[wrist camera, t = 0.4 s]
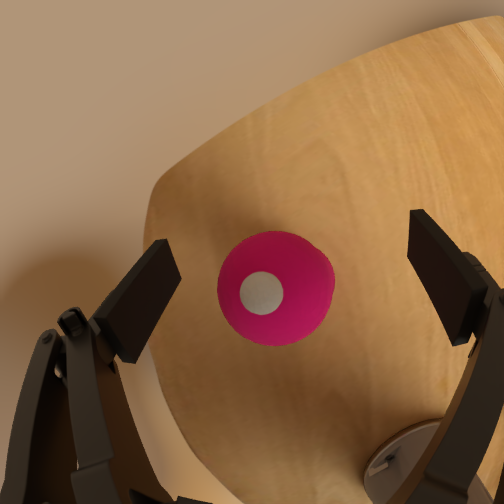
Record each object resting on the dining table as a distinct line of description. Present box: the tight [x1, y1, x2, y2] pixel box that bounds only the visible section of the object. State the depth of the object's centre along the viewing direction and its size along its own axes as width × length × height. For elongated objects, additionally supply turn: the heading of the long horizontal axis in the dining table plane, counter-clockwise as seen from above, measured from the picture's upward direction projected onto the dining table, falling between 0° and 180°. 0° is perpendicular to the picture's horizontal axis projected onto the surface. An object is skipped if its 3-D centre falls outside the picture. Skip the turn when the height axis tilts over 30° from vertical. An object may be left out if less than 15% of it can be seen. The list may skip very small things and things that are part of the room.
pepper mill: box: [217, 231, 335, 346], centre depth 20 cm, size 7×7×20 cm
